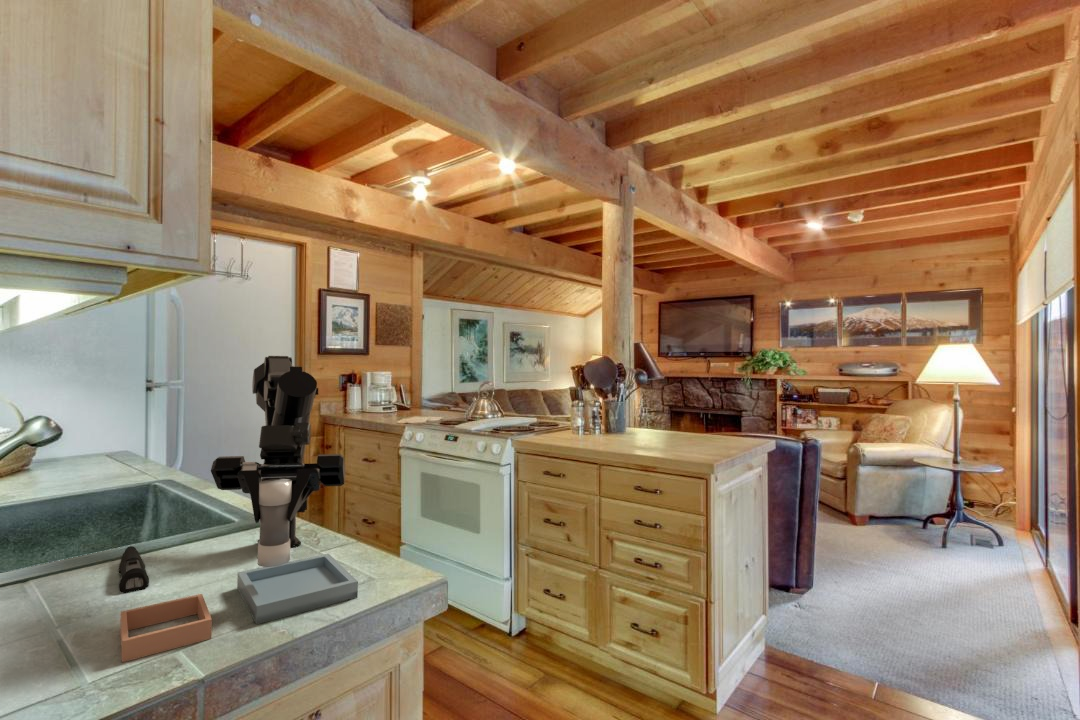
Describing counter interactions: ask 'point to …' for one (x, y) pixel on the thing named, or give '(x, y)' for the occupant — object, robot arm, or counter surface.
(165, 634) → the socket ring
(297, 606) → the parts tray
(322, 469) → the robot arm
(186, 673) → the counter surface
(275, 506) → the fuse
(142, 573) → the electric trimmer
